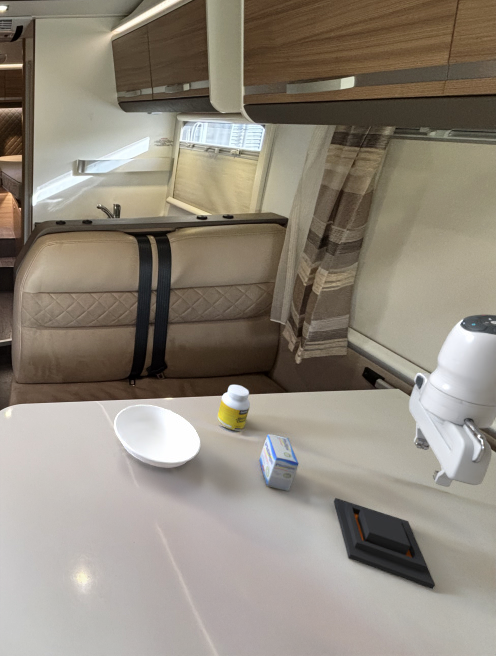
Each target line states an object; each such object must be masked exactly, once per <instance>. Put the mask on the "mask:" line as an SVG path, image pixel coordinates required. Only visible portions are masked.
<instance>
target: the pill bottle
mask: <svg viewBox="0 0 496 656" xmlns="http://www.w3.org/2000/svg"><path fill="white" fill-rule="evenodd" d="M249 396H250V391H249V389H247V387H244V386H242V385H241V384H240V385H239V384H230V385H229V386H228V388H227V392H225V393H223V395H222V396H221V400H220V404H219V407H218V412H217V416H216V417H217V420H218V422H219V423H220V425H219V424H218V426H219V428H221V429H223V431H226V432H228V433H232V434H239V433H241V432H242V431H240V430H241V429H243V428H244V427H245V425H246V423H247V418H248V415H249V411H250V408H251V402H250V400H249Z"/></svg>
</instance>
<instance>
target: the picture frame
mask: <svg viewBox="0 0 496 656" xmlns="http://www.w3.org/2000/svg"><path fill="white" fill-rule="evenodd" d="M333 504H334V507H335V511H336V515H337V520H338V523H339V527H340V531H341V536H342V539H343V543H344V546H345V550H346V554H347V558H348V559H350V560H352V561H355V562H358V563H361V564H363V565H366V566H368V567H370V568H374V569H377V570H380V571H382V572H384V573H387V574H390V575H392V576H395V577H398V578H401V579H403V580H406V581H409V582H411V583H414V584H417V585H420V586H423V587H425V588H428V589H430V590H434V588H435V586H436V583H435V582H434V579H433V577H432V574H431V571H430V569H429V567H428V564H427V562H426V559H425V558H424V554H423V553H422V551H421V550H422V549H421V547H420V545H419V543H418V541H417V539H416V536H415V534H414V532H413V529H412V527H411V525H410V522H409V520H406V519H403V518H400V517H397V516H393V515H391V514H388V513H385V512H381V511H378V510H375V509H372V508H370V507H369V508H368V507H365V506H363V505H359V504H356V503H354V502H350V501H347V500H344V499H340V498H338V497H335V498H334V499H333ZM361 508H364V509H367V510H370V511H373V512H376V513H379V514H383V515H386V516H389V517H392V518H395V519H398V520H400V521H401V524H402V526H403V529H404V531H405V534H406V536H407V539H408V541H409V544H410V548H409V550H408V552H407V554H406V555H403V554H400V553H397V552H394V551H392V550H389V549H386V548H383V547H380V546H377V545H374V544H372V543H369V542H366V541H364V539H363V536H362V533H361V529H360V526H359V523H358V519H357V517H358V515H359V513H360V510H361Z"/></svg>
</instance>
